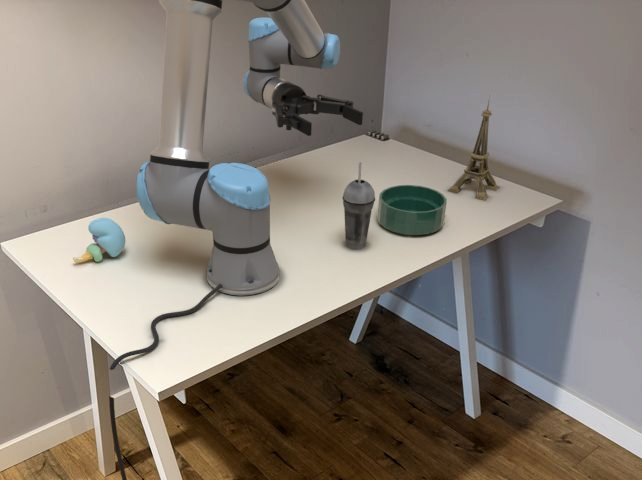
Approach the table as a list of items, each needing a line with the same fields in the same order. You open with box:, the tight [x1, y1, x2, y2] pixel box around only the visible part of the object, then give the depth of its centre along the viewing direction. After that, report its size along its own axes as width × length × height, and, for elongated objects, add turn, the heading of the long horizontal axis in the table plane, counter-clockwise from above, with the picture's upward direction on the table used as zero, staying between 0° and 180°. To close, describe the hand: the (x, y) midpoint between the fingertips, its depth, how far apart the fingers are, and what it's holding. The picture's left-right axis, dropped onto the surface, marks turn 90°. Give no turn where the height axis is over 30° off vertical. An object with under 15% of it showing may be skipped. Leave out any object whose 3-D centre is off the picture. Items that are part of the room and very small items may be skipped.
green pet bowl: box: [376, 184, 447, 236], centre depth 164 cm, size 16×16×6 cm
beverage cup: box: [341, 162, 376, 251], centre depth 150 cm, size 7×7×20 cm
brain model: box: [72, 217, 126, 264], centre depth 147 cm, size 7×9×12 cm
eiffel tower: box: [447, 95, 500, 201], centre depth 176 cm, size 11×11×25 cm
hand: (336, 124), depth 148 cm, fingers open, 13 cm apart
